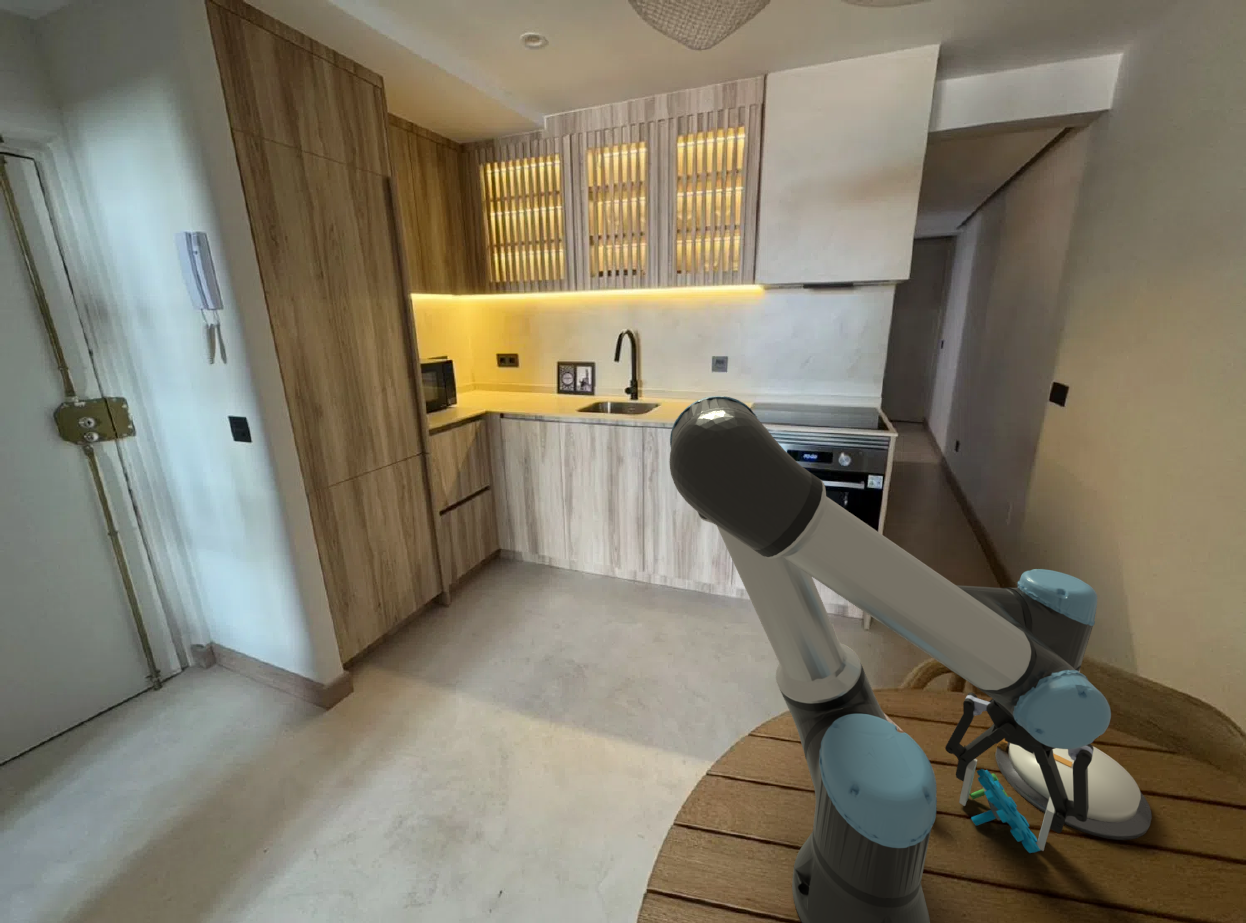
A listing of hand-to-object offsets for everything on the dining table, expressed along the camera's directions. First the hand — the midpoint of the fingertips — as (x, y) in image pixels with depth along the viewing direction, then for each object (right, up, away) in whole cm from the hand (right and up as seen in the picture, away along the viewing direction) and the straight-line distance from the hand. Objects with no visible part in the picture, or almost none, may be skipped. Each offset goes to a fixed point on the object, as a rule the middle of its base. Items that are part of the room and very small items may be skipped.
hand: (1001, 819), depth 71 cm
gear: (-1, -1, -1) cm, 1 cm away
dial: (+15, +3, +6) cm, 16 cm away
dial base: (+15, +1, +6) cm, 16 cm away
